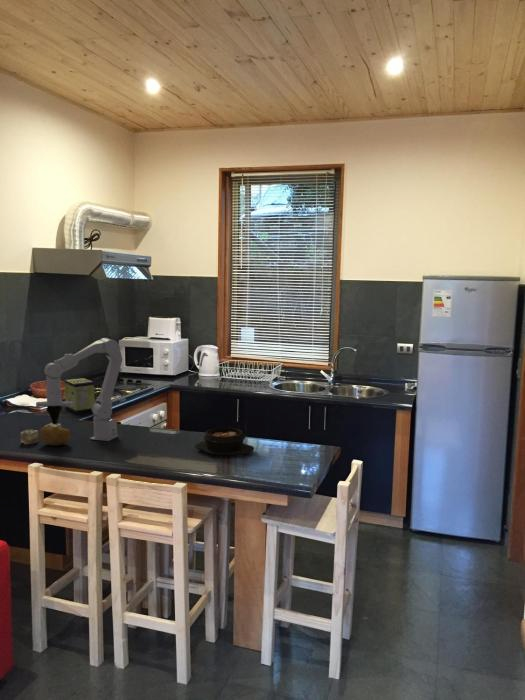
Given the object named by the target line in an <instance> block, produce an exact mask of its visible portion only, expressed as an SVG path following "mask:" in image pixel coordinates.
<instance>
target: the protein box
mask: <svg viewBox="0 0 525 700" xmlns="http://www.w3.org/2000/svg"><path fill="white" fill-rule="evenodd" d="M64 399H65V400H64V401H69V402H73V406H72V407H65V409H67V410H68V411H71V412H73V413H74V414H81V413H86V412H92V405H93V404H94V403H95V401H96V399H95V381H92V380H89V379H87V378H84V377H80V378H72V379H71V378H70V379H64Z"/></svg>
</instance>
